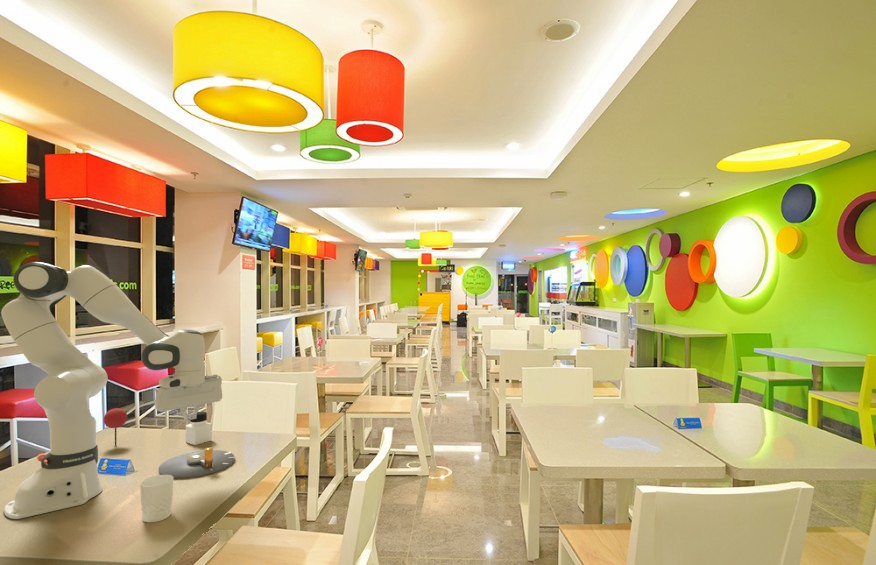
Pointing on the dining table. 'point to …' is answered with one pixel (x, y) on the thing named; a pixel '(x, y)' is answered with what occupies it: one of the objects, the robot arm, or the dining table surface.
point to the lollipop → (115, 419)
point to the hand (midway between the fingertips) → (190, 419)
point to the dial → (201, 458)
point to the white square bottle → (198, 429)
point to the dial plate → (183, 470)
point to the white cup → (156, 497)
